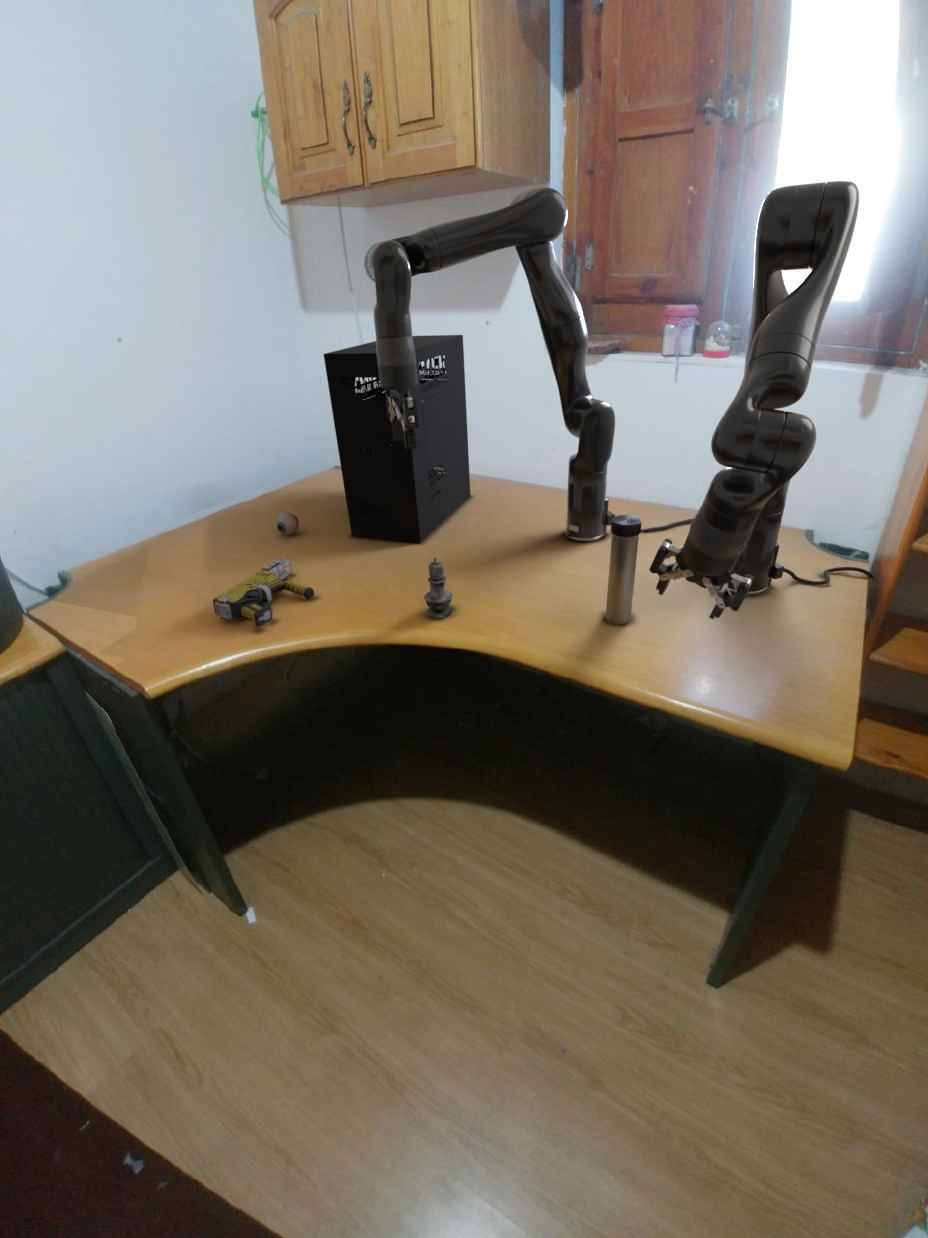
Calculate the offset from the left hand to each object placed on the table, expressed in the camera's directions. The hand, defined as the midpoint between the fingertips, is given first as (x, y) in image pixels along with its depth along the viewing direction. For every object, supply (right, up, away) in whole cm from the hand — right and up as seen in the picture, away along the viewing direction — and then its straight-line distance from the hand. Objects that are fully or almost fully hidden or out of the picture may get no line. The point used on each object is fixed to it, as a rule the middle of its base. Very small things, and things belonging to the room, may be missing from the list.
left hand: (404, 444), depth 126 cm
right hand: (+48, -34, -30) cm, 66 cm away
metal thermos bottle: (+42, -36, -9) cm, 56 cm away
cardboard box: (-2, -7, +47) cm, 48 cm away
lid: (+41, -19, -18) cm, 49 cm away
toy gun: (-28, -33, +5) cm, 43 cm away
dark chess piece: (+7, -35, -3) cm, 36 cm away
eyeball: (-35, -13, +39) cm, 55 cm away
